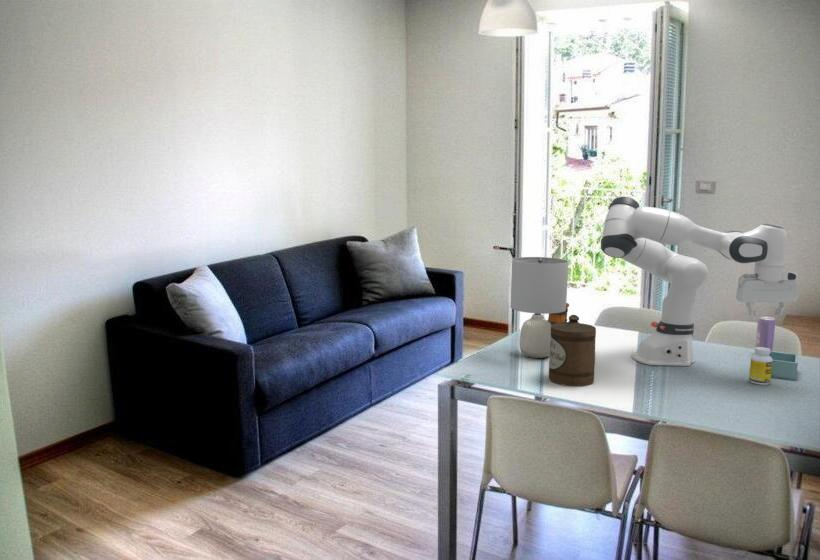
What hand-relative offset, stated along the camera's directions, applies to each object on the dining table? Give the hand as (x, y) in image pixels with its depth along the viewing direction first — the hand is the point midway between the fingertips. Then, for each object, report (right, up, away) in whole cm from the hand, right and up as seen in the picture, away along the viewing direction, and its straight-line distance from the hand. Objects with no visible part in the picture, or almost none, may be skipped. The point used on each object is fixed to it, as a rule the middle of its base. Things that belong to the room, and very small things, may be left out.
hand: (765, 315), depth 237 cm
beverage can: (+17, -18, +36) cm, 44 cm away
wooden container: (-64, -22, +2) cm, 68 cm away
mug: (-53, -11, +76) cm, 93 cm away
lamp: (-70, -17, +32) cm, 79 cm away
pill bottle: (-1, -23, +2) cm, 23 cm away
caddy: (+10, -21, +14) cm, 27 cm away
